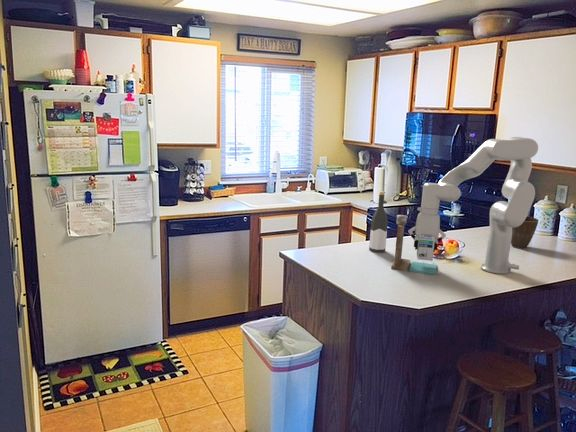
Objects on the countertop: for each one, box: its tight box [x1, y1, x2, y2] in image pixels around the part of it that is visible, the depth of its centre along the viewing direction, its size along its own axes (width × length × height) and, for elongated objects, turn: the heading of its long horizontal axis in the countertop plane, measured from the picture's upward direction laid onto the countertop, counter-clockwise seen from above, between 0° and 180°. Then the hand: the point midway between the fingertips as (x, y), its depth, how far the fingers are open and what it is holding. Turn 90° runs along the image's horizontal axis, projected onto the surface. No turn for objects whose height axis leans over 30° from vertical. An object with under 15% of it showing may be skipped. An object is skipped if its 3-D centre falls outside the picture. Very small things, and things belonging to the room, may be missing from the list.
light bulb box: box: [416, 235, 435, 262], centre depth 220 cm, size 11×7×11 cm, turn 168°
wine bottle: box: [368, 190, 389, 254], centre depth 246 cm, size 8×8×30 cm
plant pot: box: [510, 215, 539, 250], centre depth 267 cm, size 15×15×16 cm
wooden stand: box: [390, 214, 411, 272], centre depth 223 cm, size 7×13×23 cm, turn 161°
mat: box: [409, 261, 438, 276], centre depth 223 cm, size 11×13×1 cm
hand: (425, 249), depth 221 cm, fingers closed on light bulb box, 7 cm apart
